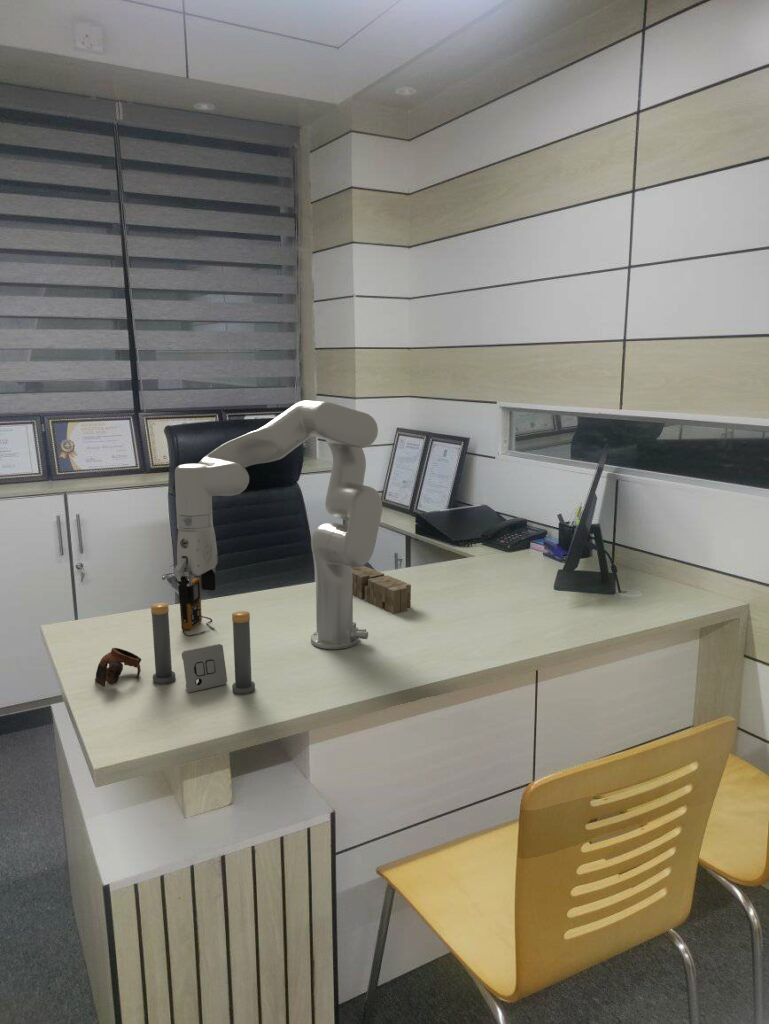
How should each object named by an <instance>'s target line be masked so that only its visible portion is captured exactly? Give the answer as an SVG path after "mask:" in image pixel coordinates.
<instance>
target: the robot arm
mask: <svg viewBox="0 0 769 1024" xmlns="http://www.w3.org/2000/svg"><path fill="white" fill-rule="evenodd" d="M378 435H379V427H378V423H377V422H376V420H375V418H374V417H373V416H371V415H370V414H368V413H366V412H363V411H360V410H356V409H352V408H349V407H345V406H344V405H340V404H337V403H333V402H330V401H321V400H309V399H308V400H307V399H306V400H304V399H303V400H301V401H297V402H296V403H294V404H293V405H291V406H290V407H288V408H287V409H286V410H284V411H283V412H282V413H280V414H278V415H277V416H276V417H275V418H273V419H272V420H270V421H269V422H267V423H266V424H264V425H263V426H261V427H259V428H257V429H256V430H252V431H250V432H247V433H246V434H243V435H241V436H238V437H236V438H234V439H231V440H229V441H227V442H225V443H222V444H221V445H219V446H218V447H216V448H215V449H214V450H212V451H211V452H209V453H208V454H206V455H205V456H204V457H203V458H202V459H201V460H200V461H199V462H197V463H196V462H195V463H193V462H192V463H184V464H183V463H182V464H179V465H178V466H176V467H175V469H174V486H175V488H174V489H175V490H174V491H175V504H176V505H175V507H176V508H175V509H176V511H175V512H176V526H177V527H176V528H177V530H178V531H177V541H176V542H177V543H176V544H177V546H176V561H177V564H176V566H175V568H174V569H173V575H174V577H175V582H176V584H177V586H179V588H178V598H180V599H179V604H180V603H186V604H193V603H194V586H192V582H193V578H195V577H198V576H201V578H200V581H201V590H204V591H215V590H216V587H217V586H216V571H217V568H216V566H217V564H218V548H217V547H218V546H217V539H216V532H215V528H214V521H213V520H214V519H213V498H212V497H216V496H217V497H218V496H219V497H221V496H223V497H233V496H237V495H240V494H241V493H243V492H244V491H245V490H246V489H247V487H248V485H249V483H250V475H249V473H248V471H247V469H246V468H248V467H250V466H254V465H258V464H259V465H260V464H266V463H271V462H275V461H279V460H281V459H283V458H285V457H286V456H288V454H290V453H291V452H293V451H294V450H295V449H296V448H298V447H299V446H301V445H302V444H303V443H304V442H306V441H307V440H309V439H310V438H312V437H314V438H315V437H316V438H321V439H324V440H325V442H326V443H327V445H328V447H329V449H330V452H331V455H332V466H331V467H332V468H331V472H330V477H329V483H328V487H327V490H326V497H325V502H324V503H325V509H326V511H327V513H328V514H329V515H330V516H332V517H335V518H337V519H341V520H344V521H348V524H347V525H344V524H343V523H342V524H341V523H337V522H324V523H322V524H320V525H318V526H317V527H316V528H315V529H314V531H313V533H312V536H311V543H310V545H311V551H312V557H313V563H314V568H315V569H314V570H315V609H316V613H315V614H316V615H315V617H316V631H315V632H313V633H312V634H311V636H310V642H311V644H312V645H314V646H315V647H317V648H320V649H323V650H326V649H327V650H341V649H342V650H343V649H347V648H351V647H353V646H355V645H357V644H358V642H359V640H361V639H362V640H368V638H369V632H368V631H367V629H366V628H358V627H357V622H354V618H353V617H354V615H353V612H354V611H353V610H354V609H353V608H354V606H353V602H354V601H353V597H354V596H353V576H352V570H351V567H361V566H366V565H367V564H368V563H369V561H370V560H371V558H372V556H373V554H374V550H375V547H376V544H377V543H376V542H377V539H378V533H379V529H380V523H381V519H382V515H383V502H382V501H383V500H382V498H381V497H382V496H381V495H380V493H379V492H378V491H377V490H376V489H375V488H373V487H372V486H369V485H364V482H365V481H364V480H365V474H366V470H367V462H366V461H367V460H366V455H365V453H364V450H363V448H368V447H369V446H371V445H372V444H374V442H375V441H376V439H377V438H378ZM189 571H191V572H189ZM187 576H189V578H188V580H187Z"/></svg>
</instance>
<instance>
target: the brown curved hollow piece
mask: <svg viewBox="0 0 769 1024" xmlns="http://www.w3.org/2000/svg"><path fill="white" fill-rule="evenodd" d="M141 661H142V658H141V657H139V656H138V655H137V654H135V653H133V652H130V651H128V650H125V649H122V648H118V647H112V648H111V650H110V652H107V653H106V654H105V655H103V657H102V658H101V659H100V661H99V663H98V665H97V668H96V671H95V678H94V681H95V683H96V684H98V685H99V686H101V687H106V683H108V685H117V684H118V681H119V679H120V676H121V674H122V672H123V670H124V666H129V667H134V668H136V669H137V673H136V678H139V677H140V675H141V672H142V670H141V665H140V663H141Z"/></svg>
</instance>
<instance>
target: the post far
mask: <svg viewBox="0 0 769 1024" xmlns="http://www.w3.org/2000/svg"><path fill="white" fill-rule="evenodd" d="M169 611H170V609H169V604H168V603H166V602H160V603H159V602H158V603H154V604H152V605H151V606H150V613H151V621H152V622H151V623H152V624H151V625H152V636H153V653H154V667H155V673H153V675H152V682H153V684H156V685H160V686H161V685H169V684H171V683H174V682H175V681H176V672H175V671H173V669H172V666H173V665H172V653H171V652H172V651H171V649H172V648H171V635H170V633H171V631H170V617H169Z"/></svg>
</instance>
